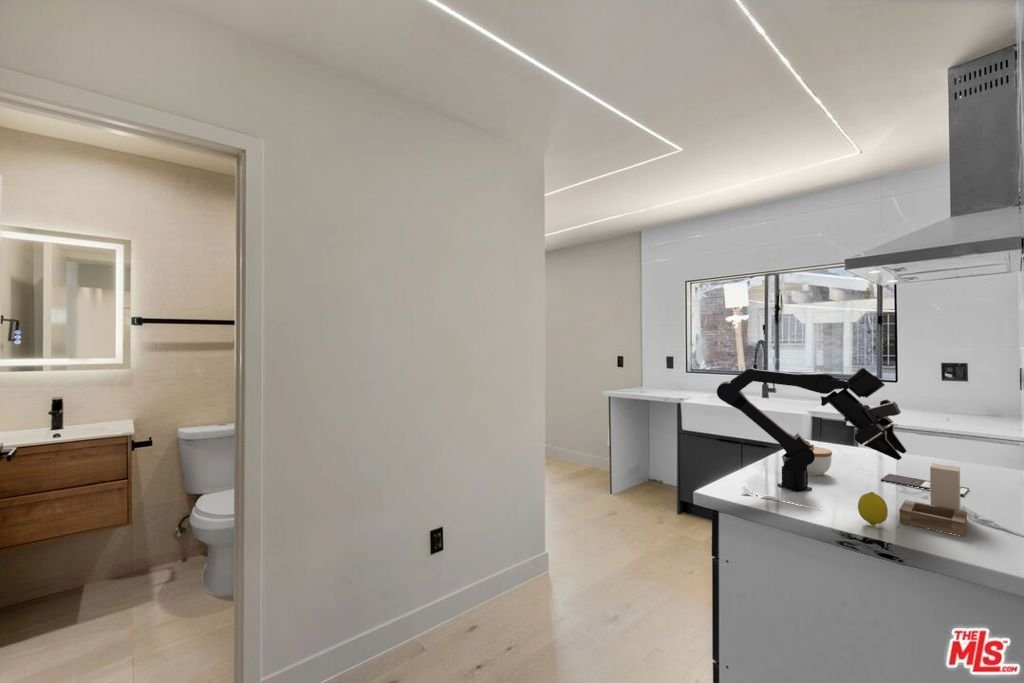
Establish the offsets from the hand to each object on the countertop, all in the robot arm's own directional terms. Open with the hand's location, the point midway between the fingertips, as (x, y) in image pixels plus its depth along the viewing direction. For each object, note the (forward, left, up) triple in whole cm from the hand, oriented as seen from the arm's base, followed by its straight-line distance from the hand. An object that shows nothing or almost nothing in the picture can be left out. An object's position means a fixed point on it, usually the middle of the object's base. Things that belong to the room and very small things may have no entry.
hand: (902, 455), depth 118 cm
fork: (-26, +13, -14) cm, 33 cm away
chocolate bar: (+23, +9, -14) cm, 28 cm away
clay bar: (+3, -7, -13) cm, 16 cm away
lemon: (-20, -6, -14) cm, 25 cm away
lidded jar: (+4, +29, -14) cm, 32 cm away
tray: (-6, -10, -13) cm, 18 cm away
